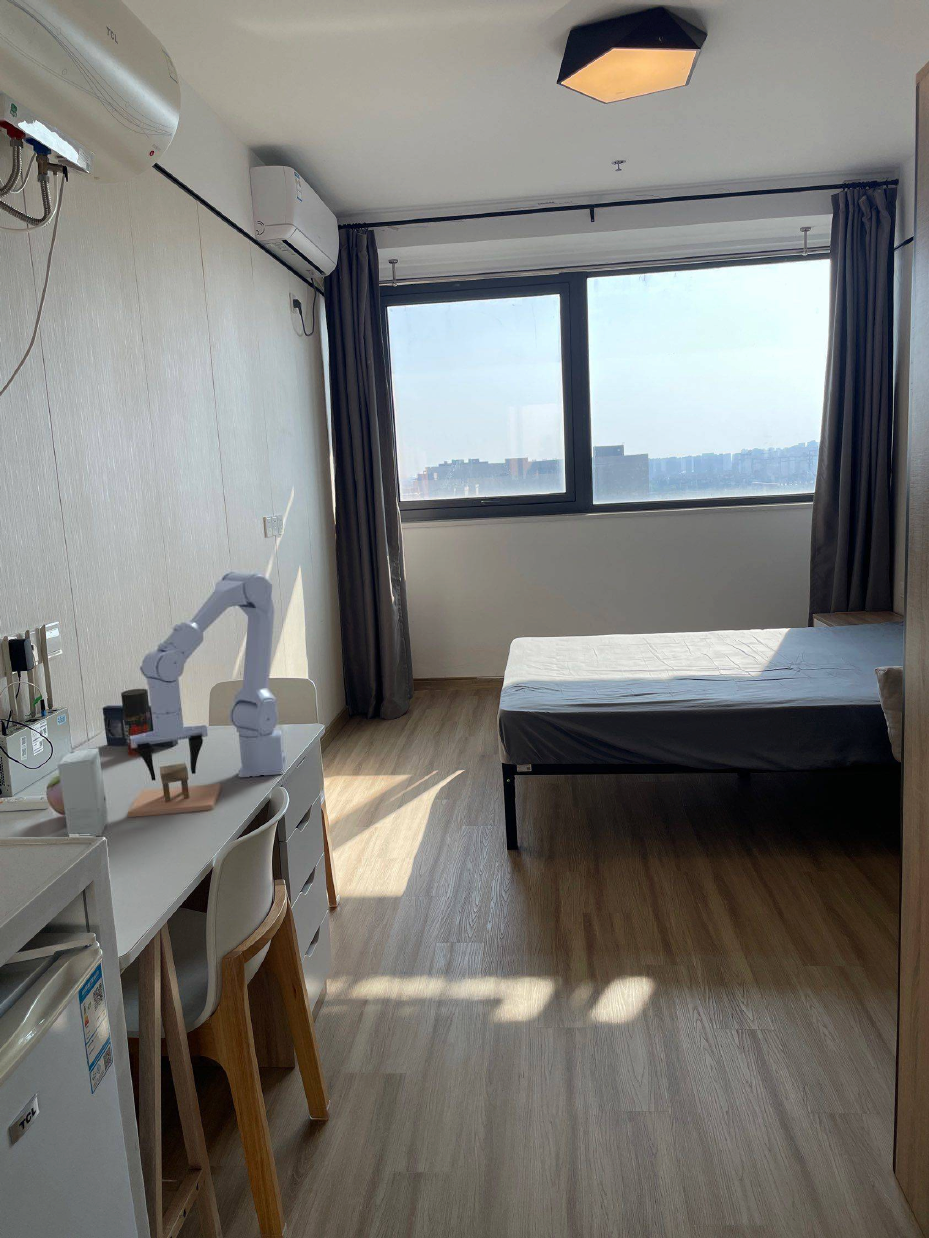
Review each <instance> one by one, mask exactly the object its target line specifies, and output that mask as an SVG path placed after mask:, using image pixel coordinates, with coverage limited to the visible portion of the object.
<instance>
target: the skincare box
mask: <svg viewBox="0 0 929 1238" xmlns="http://www.w3.org/2000/svg"><path fill="white" fill-rule="evenodd" d="M57 768H58V776H60V783H61V790H62V796H63V803H64V810H65V816H64V817H65V821H66V828H67V834H68V833H69V834H90V835H79V836H100V837H102V836H103V832H104V829H105V828H106V826H107V825H108V823H109V819H110V818H109V813H108V805H107V798H106V791H105V785H104V778H103V771H102V765H101V758H100V751H99V748H90V749H82V750H76V751H68V752H67V753H66V754H65V756H63V757H62V758H61V761H59V763H58V764H57ZM101 834H102V835H101Z"/></svg>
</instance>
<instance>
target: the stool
mask: <svg viewBox="0 0 929 1238" xmlns="http://www.w3.org/2000/svg"><path fill="white" fill-rule="evenodd" d="M159 774H160V779H161V784H162V789H163V793H164V797H165V803H166V802H171V801H170V792H169V788H170V785H169V784H172V783H176V782H180V783H181V785H180V787H182V793H183V796H184V799H189V790H188V786H189V783H188V780H189V772H188V767H187V764H186V762H182V763H175V764H169V765H165V766H159Z"/></svg>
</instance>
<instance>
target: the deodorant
mask: <svg viewBox="0 0 929 1238" xmlns="http://www.w3.org/2000/svg"><path fill="white" fill-rule="evenodd" d="M148 691H149V689H146V688H133V689H128V690H124V691H122V692H120V695H121V697H120V698H121V705H122V706H123V714H124V723H125V732H126V740H127V746H126V747H127V754H128V756H130V757H139V756H141V755H140V754H139V752H138V748H137V747H135V748H131V740H130V736H134V735H139V734H143V733H148V732H152V727H151V718H150V709H149V706H150V699H149V692H148ZM150 745H151V751H152V753H153V752H154V751H155V747H154V745H153V744H150Z"/></svg>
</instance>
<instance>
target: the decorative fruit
mask: <svg viewBox="0 0 929 1238" xmlns="http://www.w3.org/2000/svg"><path fill="white" fill-rule="evenodd" d="M45 795H46V800H47V802H48V804H49V806H50V807H51V808H52V810H53V811H54V812H55V813H57V814H59V815H61V816H64V817H65V810H64V803H63V796H62V790H61V783H60V776H59V775H57V776H55V777H54V778H52V779H51V780H50V781H49V783H48V784H47V786H46V793H45Z"/></svg>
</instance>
